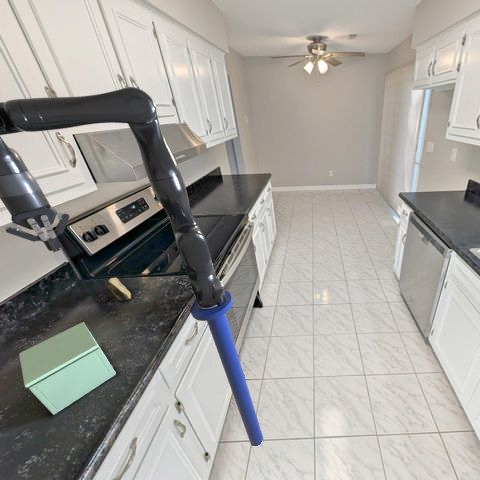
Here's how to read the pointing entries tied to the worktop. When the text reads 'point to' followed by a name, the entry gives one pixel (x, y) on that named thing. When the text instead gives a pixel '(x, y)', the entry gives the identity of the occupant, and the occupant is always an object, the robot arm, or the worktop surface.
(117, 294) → the rock
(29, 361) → the lid
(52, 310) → the worktop surface
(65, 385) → the chest
